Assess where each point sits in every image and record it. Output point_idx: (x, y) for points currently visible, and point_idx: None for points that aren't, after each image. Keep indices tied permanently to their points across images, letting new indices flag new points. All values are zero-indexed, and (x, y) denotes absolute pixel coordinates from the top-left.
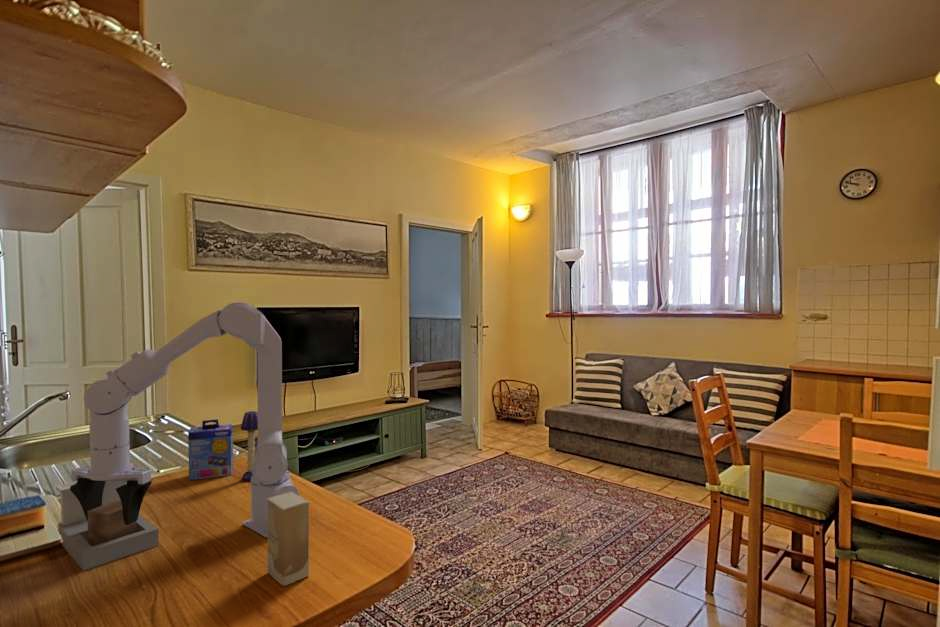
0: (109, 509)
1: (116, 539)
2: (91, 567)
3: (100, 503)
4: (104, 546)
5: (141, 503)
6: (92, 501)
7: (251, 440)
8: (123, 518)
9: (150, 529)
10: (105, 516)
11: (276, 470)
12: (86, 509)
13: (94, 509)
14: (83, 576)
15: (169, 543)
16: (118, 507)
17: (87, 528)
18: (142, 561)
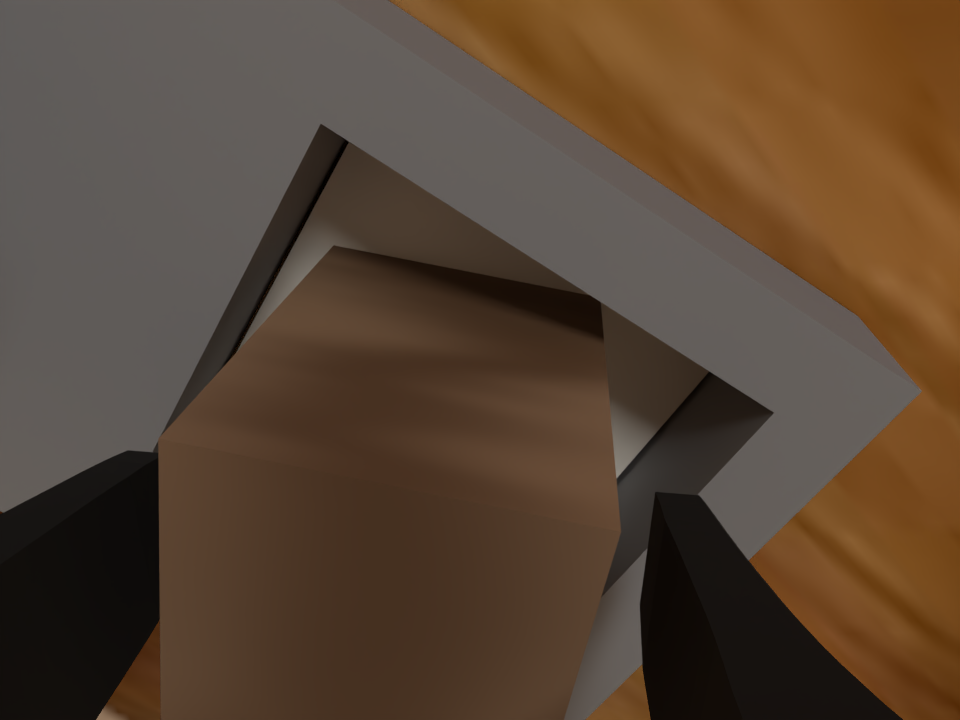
0: (397, 714)
1: (617, 607)
2: None
3: (56, 552)
4: (604, 698)
5: (797, 622)
6: (28, 712)
7: None
8: (646, 684)
9: (832, 410)
10: None
11: None
12: (88, 714)
13: (189, 711)
14: None
15: (947, 264)
16: (469, 664)
17: (105, 425)
18: (878, 555)
